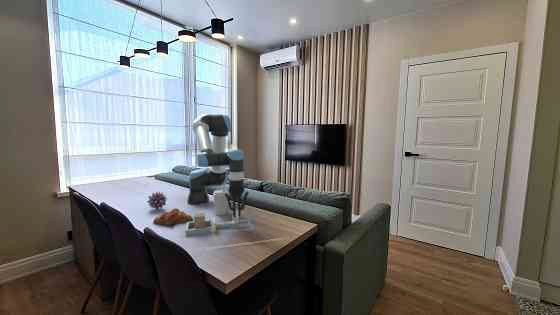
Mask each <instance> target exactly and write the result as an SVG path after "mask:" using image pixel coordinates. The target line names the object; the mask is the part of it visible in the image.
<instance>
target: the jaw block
mask: <svg viewBox="0 0 560 315" xmlns="http://www.w3.org/2000/svg"><path fill="white" fill-rule="evenodd" d="M193 219H194V220H193V222H194V229H197V228H205V221H206V213H205V211H202V212H194V215H193Z"/></svg>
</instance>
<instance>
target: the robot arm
mask: <svg viewBox="0 0 560 315" xmlns="http://www.w3.org/2000/svg"><path fill="white" fill-rule="evenodd" d="M192 129H193V130H192V131H193V134H195V136H196V141H197V147H198V152H199V153H197V154H196V165H197V167H199V169H195V170H191V171H190V172H189V175H188V180H189V194H188V196H187V200H186V201H187V204H188V205H195V206H196V205H204V204H207V203H209V202H210V197H209V194H208V191H207V188H210V187H221V186H226V185H227V183H228V184H229V185H228V190H227V192H225V193H224V194H225V196H226V197H227V206H228V208H229V211H232V215H233V216H234V217H236V223H239V220H240V217H241V212H242V210H245V205H246V202H247V197H248V196H249V194H250V192H249V191H248V190H246V189H245V183H244V181H245V180H244V178H245V177H244V176H245V175H244V169H245V168H244V166H245V165H244V159H245V156H244V151H243V149H242V150H241V149H230V150H228V151H227V152H226V137H228V136H229V133H231V132H232V123H231V118H230V116H228V115H227V114H206V113H205V114H201V115H200V116H198V117H197V118H196V119H194V121H193V124H192ZM210 135H211V136H212V141H211V137H210ZM226 167H229V168H228V170H227V169H226ZM206 168H209V170H207V169H206ZM228 179H229V180H228ZM230 195H231V196H232V202H231V199H230ZM242 195H243V198H242V202H241V196H242ZM236 198H237V200H236ZM236 202H237V203H236ZM231 203H232V204H231ZM236 204H237V205H236ZM236 206H237V207H236Z"/></svg>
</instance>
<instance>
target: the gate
mask: <svg viewBox="0 0 560 315" xmlns="http://www.w3.org/2000/svg"><path fill="white" fill-rule="evenodd" d="M230 221H231V222H224V221H220V222H221V223H215V222H216V217H215V218H213V226H214V225H215V226H216V228H225V227H235V226H236V217H234V216H233V214H232V215H231V220H230Z"/></svg>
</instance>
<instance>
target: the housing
mask: <svg viewBox="0 0 560 315" xmlns="http://www.w3.org/2000/svg"><path fill="white" fill-rule="evenodd" d="M213 218H215V219H216V217H215V216H213V217H212V218H211V219H207V220H206V219H205V228H197V229H194V221H189V222H186V224H185V225H184V224H183V225H182V226H181V231H180V234H179V239H187V238H195V237H203V236H211V235H220V234H229V233H238V232H246V231H247V232H249V231H255V227H254V225H253V223H252V221H251V219H250V218H246V219H239V223H236V226H235V227H225V228H216V226H215V225H214V226H213ZM231 221H232V220H227V221H223V222H231ZM221 222H222V221H215V223H221Z"/></svg>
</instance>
